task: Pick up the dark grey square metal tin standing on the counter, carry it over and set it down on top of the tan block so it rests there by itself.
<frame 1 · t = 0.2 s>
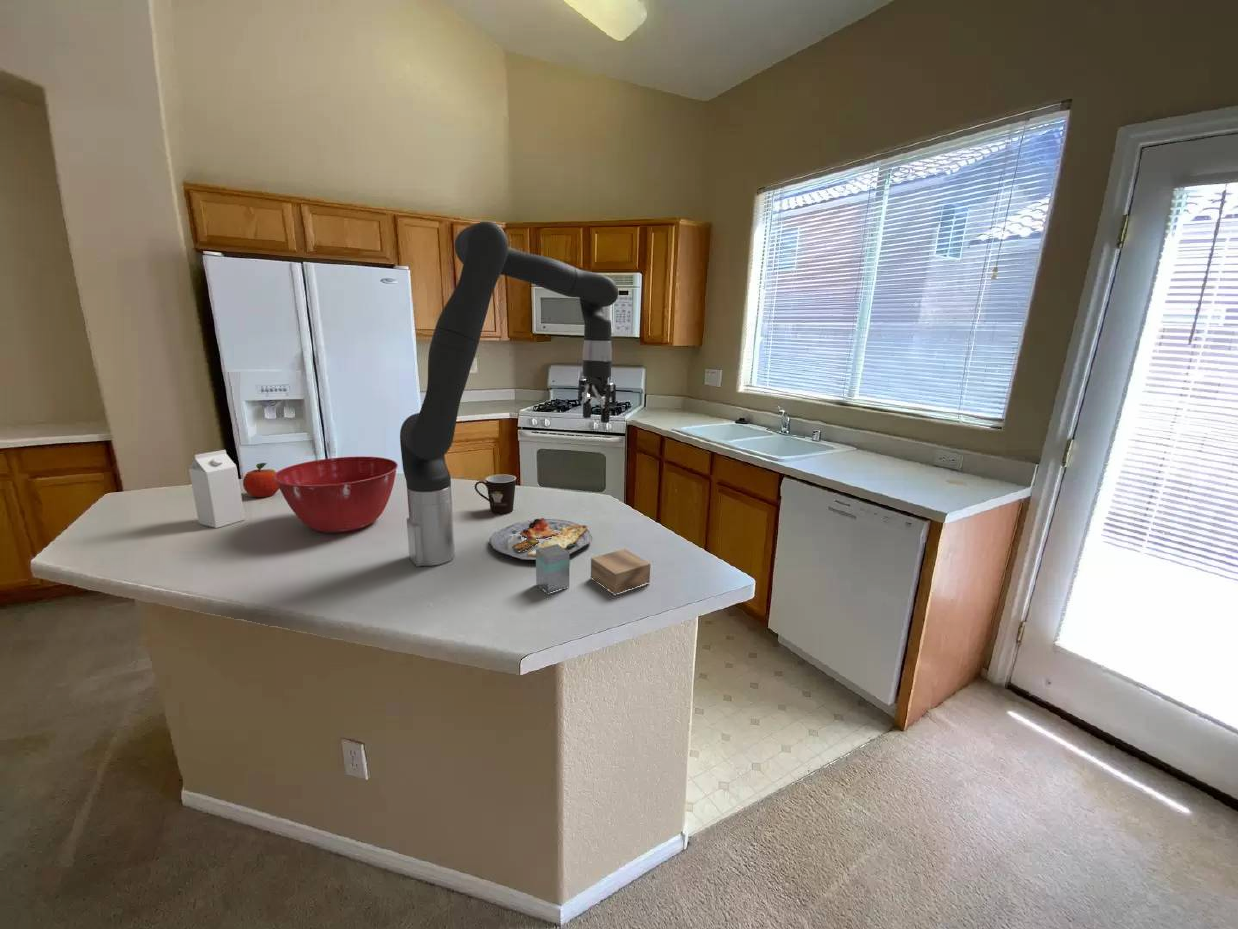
hand: (595, 420, 135), 29 cm above the countertop, fingers open, 8 cm apart
food plate: (542, 545, 126), on the countertop
tan block: (619, 582, 108), on the countertop
mixing bowl: (344, 524, 135), on the countertop
fruit: (263, 496, 155), on the countertop
coffee mug: (498, 510, 149), on the countertop
milk carton: (222, 522, 133), on the countertop
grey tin: (552, 586, 105), on the countertop
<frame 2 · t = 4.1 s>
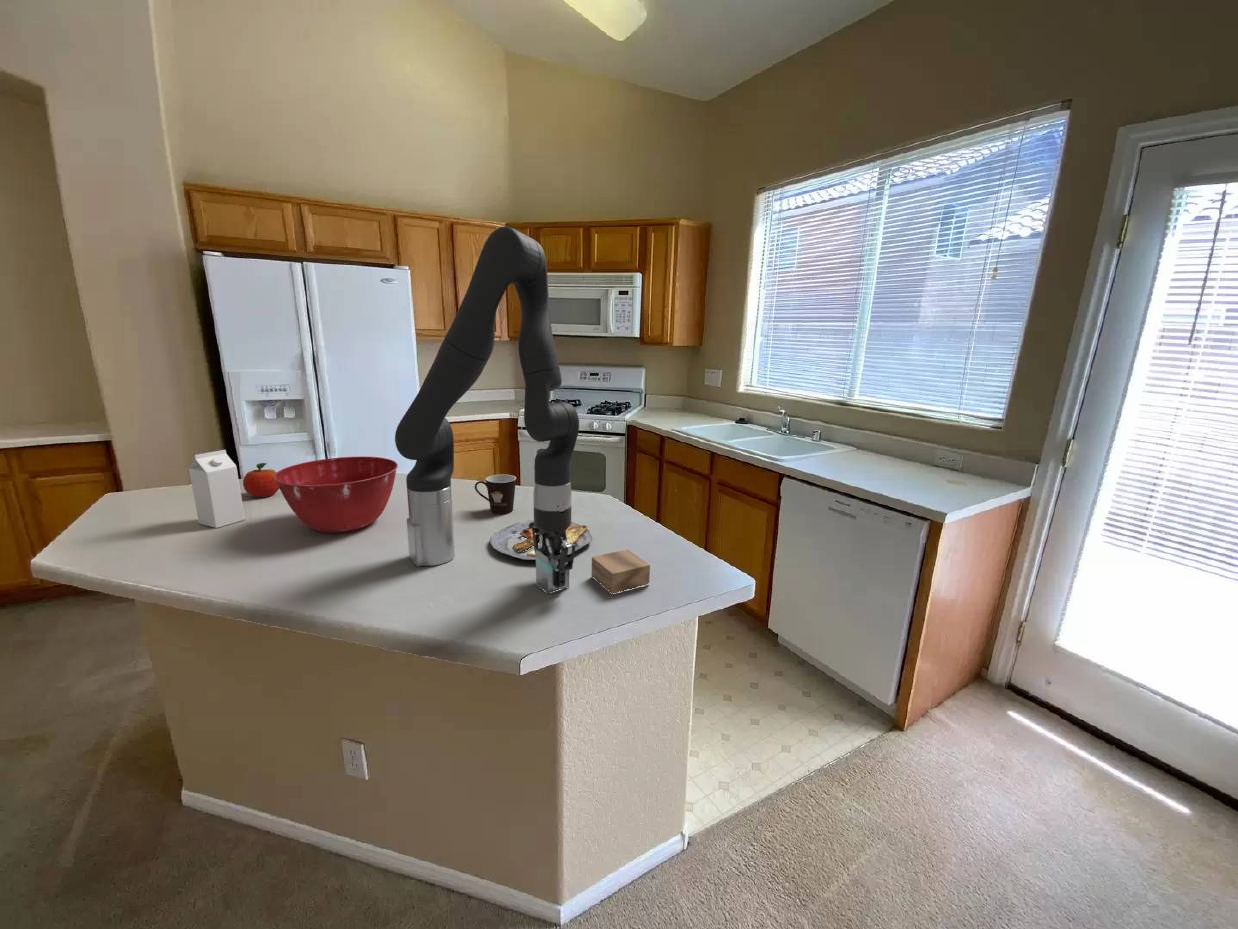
hand: (552, 580, 104), 1 cm above the countertop, fingers closed on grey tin, 5 cm apart
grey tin: (552, 586, 105), on the countertop, touching gripper
everything else where it was.
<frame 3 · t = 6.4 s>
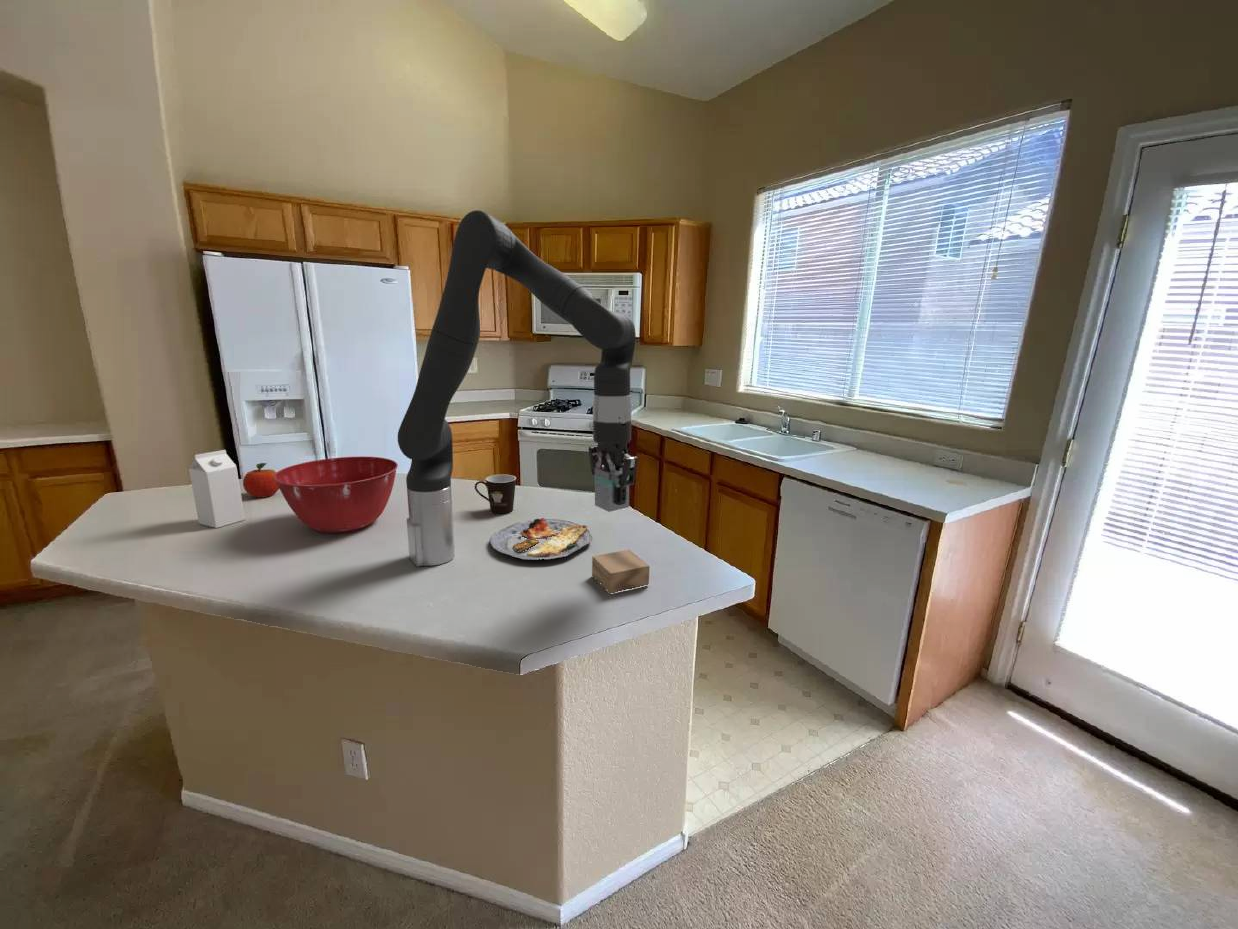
hand: (612, 500, 102), 18 cm above the countertop, fingers closed on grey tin, 5 cm apart
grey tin: (611, 506, 103), point 17 cm above the countertop, touching gripper
everything else where it was.
when the fingers open (7 cm above the countertop, at t = 8.6 s): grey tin stays where it is, point 5 cm above the countertop.
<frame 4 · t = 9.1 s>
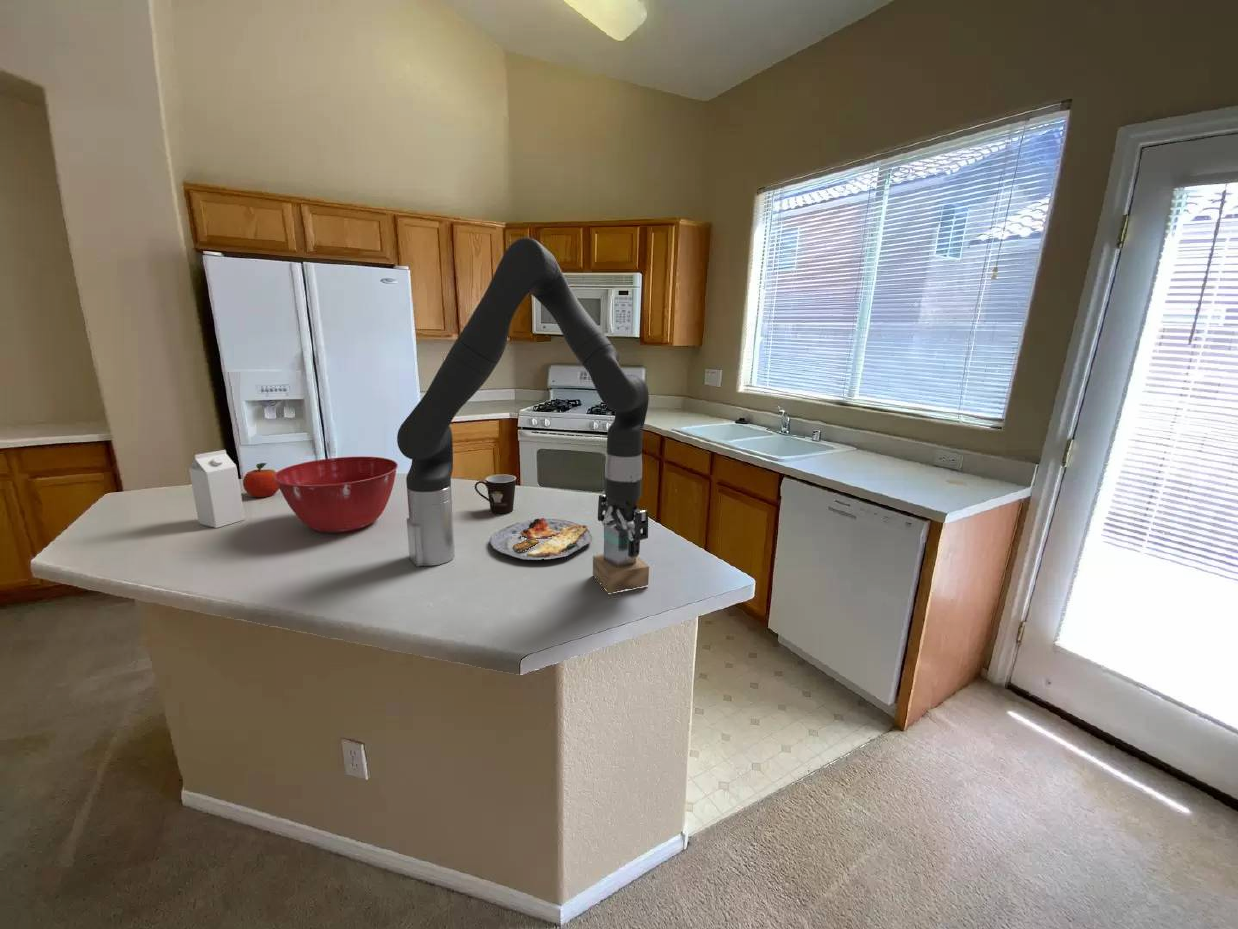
hand: (620, 549, 106), 7 cm above the countertop, fingers open, 8 cm apart
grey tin: (619, 560, 107), point 5 cm above the countertop
everything else where it was.
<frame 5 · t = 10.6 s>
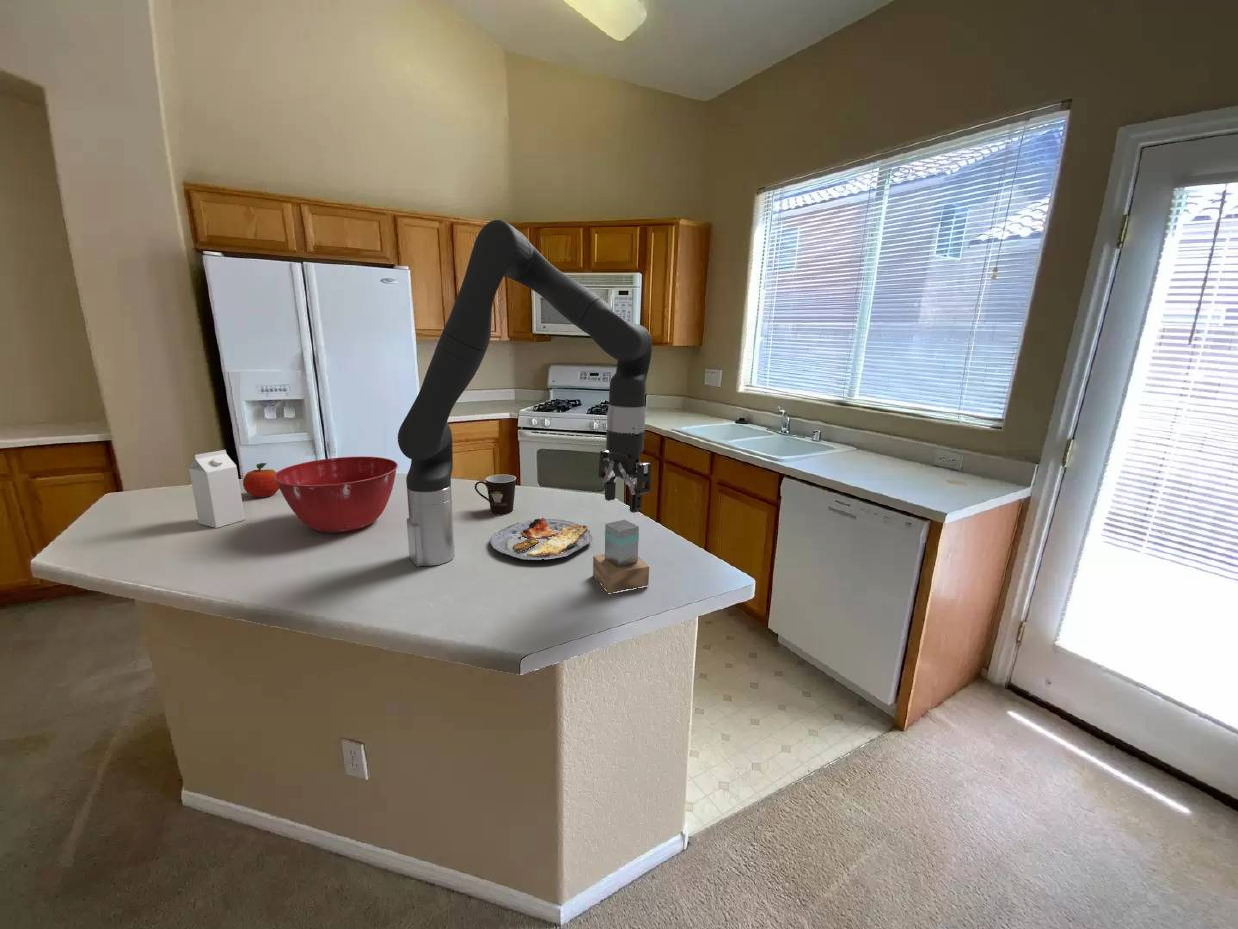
hand: (622, 505, 103), 17 cm above the countertop, fingers open, 8 cm apart
tan block: (620, 582, 108), on the countertop, touching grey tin
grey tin: (621, 560, 107), point 5 cm above the countertop, touching tan block
everything else where it was.
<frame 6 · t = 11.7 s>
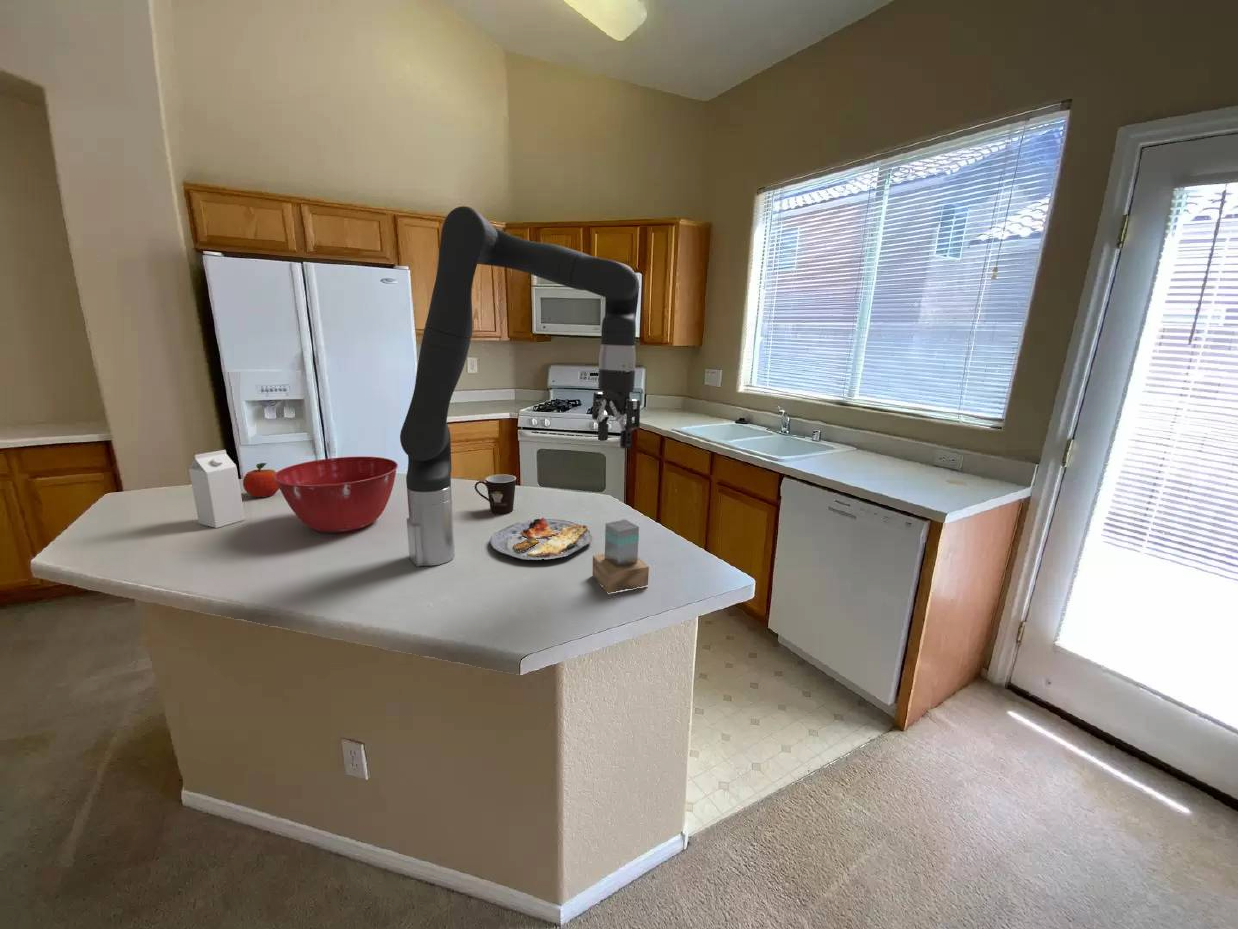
hand: (613, 444, 108), 28 cm above the countertop, fingers open, 8 cm apart
nothing on the countertop moved.
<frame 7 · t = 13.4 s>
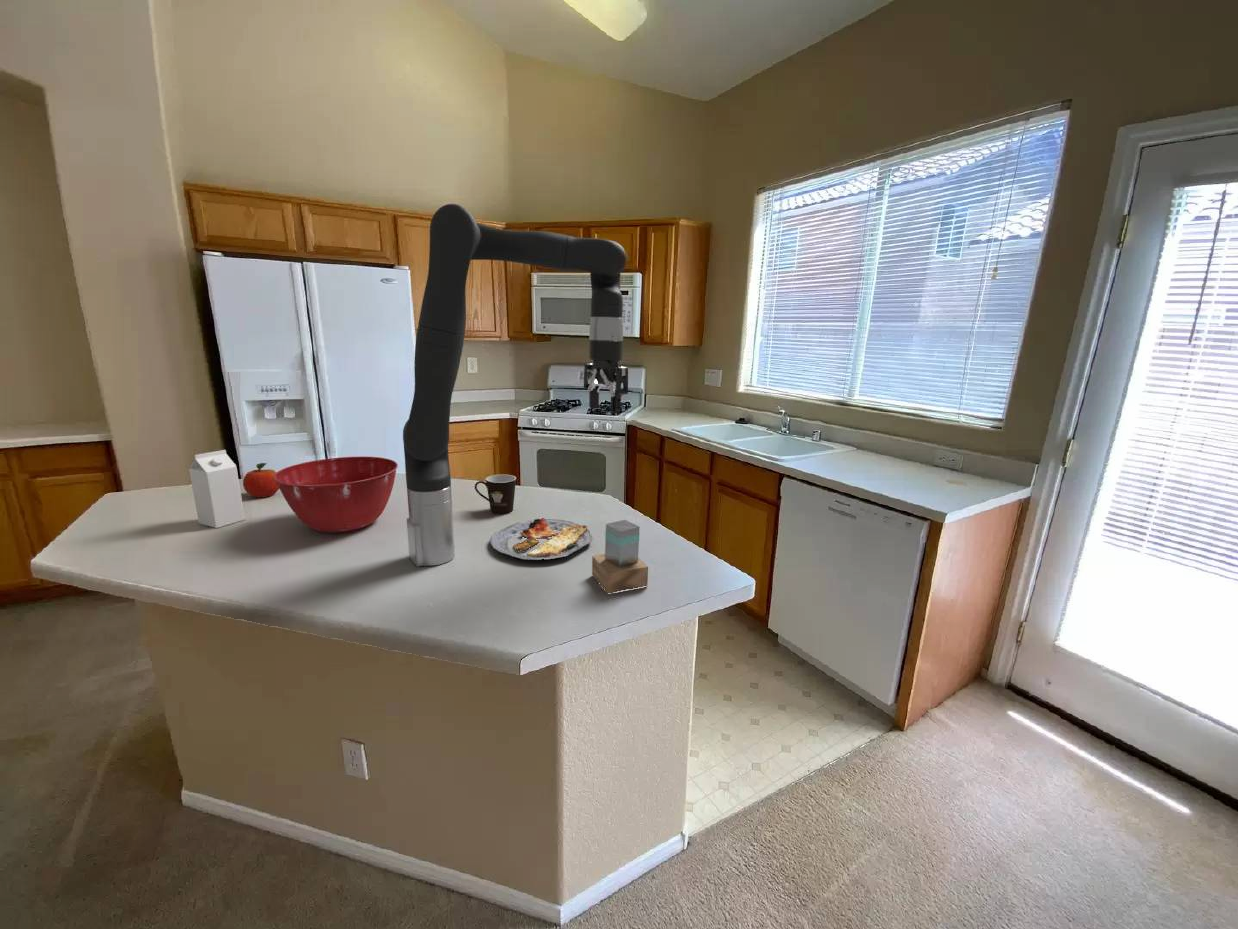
hand: (604, 410, 117), 34 cm above the countertop, fingers open, 8 cm apart
nothing on the countertop moved.
at the end: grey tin inside the target area on the tan block (0.3 cm from its centre), point 5.0 cm above the tan block's base; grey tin tilted 0°; the gripper is holding nothing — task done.
